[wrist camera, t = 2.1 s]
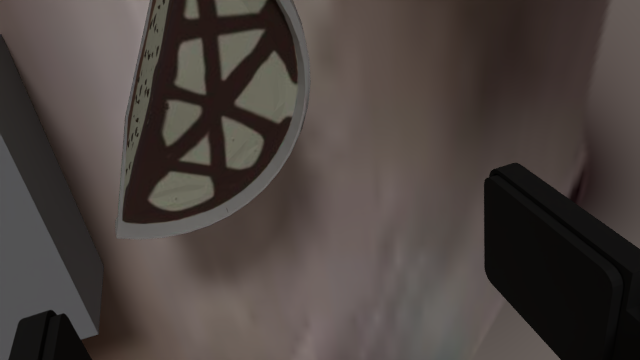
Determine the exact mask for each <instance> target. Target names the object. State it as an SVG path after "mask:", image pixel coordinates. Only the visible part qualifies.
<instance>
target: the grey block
mask: <svg viewBox="0 0 640 360" xmlns="http://www.w3.org/2000/svg"><path fill="white" fill-rule="evenodd" d="M103 272H104V266H103V264H102V261H101V259H100V257H99V255H98V252H97V250H96V248H95V246H94V243H93V241H92V239H91V236H90V234H89V232H88V230H87V227H86V225H85V223H84V221H83V218H82V216H81V214H80V212H79V209H78V207H77V205H76V202H75V200H74V198H73V196H72V193H71V191H70V189H69V187H68V184H67V182H66V180H65V177H64V175H63V173H62V171H61V168H60V166H59V164H58V162H57V159H56V157H55V155H54V153H53V150H52V148H51V146H50V143H49V141H48V139H47V137H46V134H45V132H44V130H43V128H42V125H41V123H40V121H39V119H38V116H37V114H36V112H35V109H34V107H33V105H32V103H31V100H30V98H29V96H28V94H27V91H26V89H25V87H24V85H23V82H22V80H21V78H20V75H19V73H18V71H17V69H16V66H15V64H14V62H13V60H12V57H11V55H10V53H9V51H8V48H7V46H6V44H5V41H4V39H3V37H2V35H1V34H0V360H8V359H9V356H10V352H11V348H12V344H13V341H14V337H15V333H16V329H17V326H18V323H19V321H20V320H21V319H23V318H26V317H29V316H32V315H35V314H38V313H42V312H45V311H48V310H53V311H54V312H55V313H56V314H57V315H59V314H62V313H64V314H66V315H67V317H68V318H69V320H70V322H71V323H72V325H73V327H74V329H75V330H76V332H77V334H78V336H79V338H80V339H85V338H88V337H91V336H94V335H98V334H99V321H100V309H101V296H102V284H103Z"/></svg>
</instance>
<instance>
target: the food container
mask: <svg viewBox="0 0 640 360" xmlns="http://www.w3.org/2000/svg"><path fill="white" fill-rule="evenodd" d="M309 92H310V62H309V55H308V50H307V45H306V40H305V36H304V31H303V27H302V23H301V20H300V18H299V15H298V12H297V10H296V7H295V5H294V2H293V0H150V3H149V8H148V12H147V17H146V22H145V27H144V31H143V36H142V41H141V45H140V50H139V55H138V59H137V64H136V69H135V73H134V78H133V83H132V88H131V92H130V97H129V102H128V106H127V111H126V116H125V127H124V140H123V153H122V167H121V180H120V194H119V207H118V218H116V221H115V228H116V235H117V237H116V238H121V239H152V238H165V237H170V236H175V235H180V234H185V233H189V232H192V231H195V230H198V229H201V228H204V227H207V226H209V225H212V224H214V223H216V222H218V221H220V220H222V219H224V218H226V217H228V216H230V215H231V214H233V213H234V212H236V211H237V210H239V209H240V208H242V207H243V206H245V205H246V204H248V203H249V202H250V201H251V200H253V199H254V198H255V197H256V196H257V195H258V194H259V193H260V192H262V191H263V190H264V189H265V188H266V187H267V185H268V184H269V183H270V182H271V181H272V180H273V178H274V177H275V176H276V175H277V174H278V173H279V171H280V170H281V168H282V166H283V165H284V163H285V162H286V160H287V159H288V157H289V155H290V154H291V152H292V150H293V148H294V145H295V143H296V141H297V139H298V136H299V134H300V132H301V130H302V127H303V123H304V119H305V116H306V112H307V108H308V102H309Z"/></svg>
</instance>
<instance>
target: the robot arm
mask: <svg viewBox="0 0 640 360" xmlns="http://www.w3.org/2000/svg"><path fill="white" fill-rule="evenodd" d="M484 246H485V272H486V275H487V277H488V279H489V281H490V282H491V283H492V284H493V286H494V287H495V288H496V289H497V290H498V291H499V292H500V293H501V294H502V295H503V297H504V298H505V299H506V300H507V301H508V302H509V303H510V304H511V305H512V306H513V308H514V309H515V310H516V311H517V312H518V313H519V314H520V315H521V316H522V317H523V318H524V320H525V321H526V322H527V323H528V324H529V325H530V326H531V327H532V328H533V329H534V331H536V333H537V334H538V335H539V336H540V337H541V338H542V339H543V340H544V342H546V344H547V345H548V346H549V347H550V348H551V349H552V350H553V351H554V353H555V354H556V355H557V356H558V357H559V358H560V359H561V360H640V249H639V248H637V247H636V246H635V245H633V244H632V243H630V242H628V240H626V239H625V238H623V237H622V236H620V235H619V234H618V233H616V232H615V231H613V230H612V229H610V228H609V227H608V226H606V225H605V224H604V223H602V222H601V221H599V220H598V219H596V218H595V217H594V216H592V215H591V214H589V213H588V212H587V211H585V210H584V209H582V208H581V207H580V206H578V205H577V204H575V203H574V202H573V201H571V200H570V199H568V198H567V197H565V196H564V195H563V194H561V193H560V192H558V191H557V190H556V189H554V188H553V187H551V186H550V185H549V184H547V183H546V182H544V181H543V180H541V179H540V178H539V177H537V176H536V175H534V174H533V173H532V172H530V171H529V170H527V169H526V168H525V167H523V166H522V165H520V164H518V163H512V164H509V165H506V166H503V167H499V168H496V169H493V170H492V171H491V172H490V175H489V178H487V179H485V182H484ZM8 360H92V359H91V357H90V355H89V354H88V352H87V350H86V348H85V347H84V345H83V343H82V341H81V339H80V338H79V336H78V334H77V332H76V330H75V329H74V327H73V325H72V323H71V322H70V320H69V318H68V317H67V315H66V314H64V313H62V314H59V315H57V314H56V313H55V312H54V311H53V310H48V311H45V312H42V313H38V314H35V315H32V316H29V317H26V318H23V319H21V320H20V321H19V323H18V326H17V329H16V333H15V337H14V341H13V344H12V348H11V352H10V356H9V359H8Z"/></svg>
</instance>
